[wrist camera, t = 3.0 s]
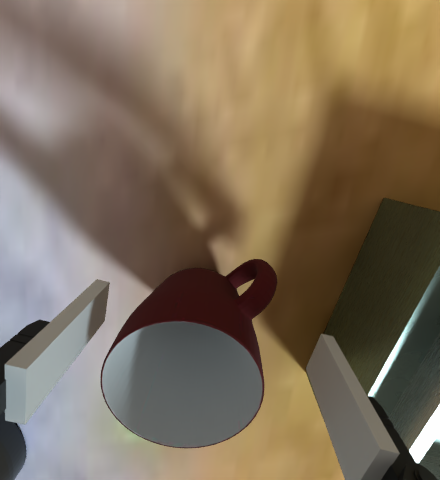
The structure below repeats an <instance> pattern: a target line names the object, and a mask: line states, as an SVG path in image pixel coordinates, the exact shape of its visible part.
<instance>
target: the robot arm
mask: <svg viewBox="0 0 440 480" xmlns="http://www.w3.org/2000/svg"><path fill="white" fill-rule="evenodd" d="M109 284H110V282H106V281H102V280H98V279H97V280H96V281H95V282H93V283H92V284H91V285H90V286H89V287H88V288H87V289H86V290H85V291H84V292H83V293H82V294H80V295H79V296H78V297H77V298H76V299H75V300H74V301H73V302H72V303H71V304H70V305H68V306H67V307H66V308H65V309H64V310H63V311H62V312H61V313H60V314H59V315H58V316H57V317H55V318H54V319H53V320H52V321H51V322H47V321H43V320H38V321H36V322H33V323H31V324H29V325H27V326H26V327H25V328H23V329H22V330H21V331H20V332H19V333H18V334H17V335H15V336H14V337H13V338H11V339H10V341H8V342H7V343H5V344H4V345H3V346H2V347H1V348H0V480H14V479H15V478H16V476H17V475H18V473H19V472H20V470H21V469H22V467H23V465H24V463H25V459H26V445H25V441H24V438H23V436H22V434H21V432H20V430H19V429H18V427H17V426H16V424H15V423H19V424H24V425H25V424H26V423H27V422H28V420H29V419H30V418H31V416H32V415H33V414H34V412H35V411H36V410H37V409H38V407H39V406H40V405H41V403H42V402H43V401H44V399H45V398H46V397H47V395H48V394H49V393H50V392H51V390H52V389H53V388H54V386H55V385H56V384H57V382H58V381H59V380H60V378H61V377H62V376H63V375H64V373H65V372H66V371H67V369H68V368H69V367H70V365H71V364H72V363H73V361H74V360H75V359H76V358H77V356H78V355H79V354H80V352H81V351H82V350H83V348H84V347H85V346H86V344H87V343H88V342H89V341H90V339H91V338H92V337H93V335H94V334H95V333H96V331H97V330H98V329H99V327H100V326H101V325H102V324H103V322H104V321H105V314H106V306H107V299H108V291H109ZM306 371H307V373H308V376H309V379H310V382H311V385H312V388H313V390H314V393H315V396H316V399H317V402H318V404H319V407H320V410H321V413H322V416H323V419H324V421H325V424H326V427H327V430H328V433H329V436H330V438H331V441H332V444H333V447H334V450H335V453H336V455H337V458H338V461H339V464H340V467H341V469H342V472H343V475H344V478H345V480H438V479H437V478H436V477H435V476H434V475H433V474H432V473H431V472H430V471H429V470H428V469H427V468H425V467H423V466H422V465H420V464H419V463H416V462H415V460H414V459H413V457H412V455H411V454H410V452H409V450H408V449H407V447H406V445H405V444H404V442H403V440H402V439H401V437H400V435H399V434H398V432H397V430H396V429H394V425H393V424H392V422H391V421H390V420H389V417H388V416H387V414H386V412H385V411H384V409H383V407H382V406H381V405H380V404H379V403H378V402H377V401H376V400H375V399H374V398H373V397H371V396H367V395H366V393H365V392H364V390H363V388H362V386H361V384H360V383H359V381H358V379H357V377H356V376H355V374H354V372H353V370H352V369H351V367H350V365H349V363H348V362H347V360H346V358H345V356H344V355H343V353H342V351H341V349H340V348H339V346H338V344H337V342H336V341H335V339H334V337H333V336H329V335H325V334H321V335H320V338H319V340H318V342H317V344H316V347H315V349H314V351H313V353H312V355H311V358H310V360H309V362H308V364H307V367H306ZM4 410H5V413H4V412H3V411H4ZM14 422H15V423H14Z"/></svg>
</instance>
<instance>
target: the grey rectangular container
mask: <svg viewBox="0 0 440 480" xmlns="http://www.w3.org/2000/svg"><path fill="white" fill-rule="evenodd" d="M324 334H325V335H329V336H333V337H334V339H335V341H336V342H337V344H338V346H339V348H340V349H341V351H342V353H343V355H344V356H345V358H346V360H347V362H348V363H349V365H350V367H351V369H352V370H353V372H354V374H355V376H356V377H357V379H358V381H359V383H360V384H361V386H362V388H363V390H364V392H365V393H366V395H367V396H371V397H373V398H374V399H375V400H376V401H377V402H378V403H379V404H380V405H381V406H382V407H383V409H384V411H385V412H386V414H387V416H388V417H389V420H390V421H391V422H392V424H393V425H394V429H396V430H397V432H398V434H399V435H400V437H401V439H402V440H403V442H404V444H405V445H406V447H407V449H408V450H409V452H410V454H411V455H412V457H413V459H414V460H415V462H416V463H419V464H420V465H422V466H423V467H425V468H427V469H428V470H429V471H430V472H431V473H432V474H433V475H434V476H435V477H436V478H437V479H438V480H440V212H438V211H434V210H430V209H427V208H423V207H419V206H415V205H411V204H407V203H403V202H399V201H395V200H391V199H387V198H384V199H383V201H382V203H381V205H380V208H379V210H378V212H377V214H376V217H375V219H374V221H373V223H372V226H371V228H370V230H369V232H368V235H367V237H366V239H365V241H364V244H363V246H362V248H361V250H360V253H359V255H358V257H357V259H356V262H355V264H354V266H353V269H352V271H351V273H350V275H349V278H348V280H347V282H346V284H345V287H344V289H343V291H342V293H341V296H340V298H339V300H338V302H337V305H336V307H335V309H334V311H333V314H332V316H331V318H330V320H329V323H328V325H327V327H326V329H325V332H324ZM306 374H307V376H308V373H307V372H306ZM308 379H309V376H308ZM309 382H310V379H309ZM310 384H311V382H310ZM311 387H312V385H311ZM312 390H313V388H312ZM313 392H314V390H313ZM314 395H315V393H314ZM315 398H316V396H315ZM316 400H317V399H316ZM317 403H318V402H317ZM318 406H319V404H318ZM319 408H320V407H319ZM320 411H321V410H320ZM321 414H322V413H321ZM324 422H325V421H324Z"/></svg>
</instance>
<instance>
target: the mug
mask: <svg viewBox="0 0 440 480" xmlns="http://www.w3.org/2000/svg"><path fill="white" fill-rule="evenodd" d="M253 279H255V280H254V281H253V283H252V284H251V286H250V287H249V288H248V289H247V290H246V291H245V292H244V293H243V294H242V295H241V296H239V295H238V292H237V288H238V287H239V286H241V285H242V284H244V283H246V282H248V281H250V280H253ZM276 286H277V277H276V274H275V271H274V270H273V268H272V267H271V266H270V265H269V264H268V263H267V262H265V261H263V260H261V259H253V260H249V261H247V262H245V263H243V264H242V265H240V266H239V267H237V268H236V269H235V270H233V271H232V272H231V273H230V274H228V275H227V276H223V275H221V274H219V273H216V272H214V271H211V270H208V269H203V268H191V269H186V270H182V271H179V272H177V273H175V274H173V275H171V276H170V277H169V278H167V279H166V280H165V281H164V282H163V283H162V284H160V285H159V286H158V287H157V288H156V289H155V290H154V291H153V292H152V293H151V294H150V295H149V296H148V297H147V298H146V299H145V300H144V301H143V302H142V303H141V304H140V305H139V306H138V307H137V308H136V310H135V311H134V312H133V313H132V314H131V315H130V317H129V318H128V320H127V321H126V323H125V324H124V325H123V327H122V329H121V330H120V332H119V334H118V335H117V337H116V339H115V341H114V343H113V345H112V346H111V348H110V350H109V352H108V354H107V356H106V358H105V360H104V363H103V366H102V370H101V389H102V393H103V397H104V399H105V402H106V404H107V406H108V408H109V409H110V411H111V412H112V414H113V415H114V416H115V417H116V419H117V420H118V421H119V422H120V423H121V424H122V425H124V426H125V427H126V428H127V429H129V430H130V431H131V432H133V433H134V434H136V435H138V436H140V437H142V438H144V439H146V440H148V441H151V442H153V443H157V444H160V445H164V446H169V447H176V448H199V447H206V446H210V445H214V444H218V443H220V442H223V441H225V440H228V439H230V438H231V437H233V436H235V435H236V434H238V433H239V432H241V431H242V430H243V429H245V428H246V427H247V426H248V425H249V424H250V423H251V421H252V420H253V419H254V418H255V416H256V414H257V413H258V411H259V409H260V407H261V404H262V401H263V396H264V377H263V370H262V363H261V357H260V351H259V346H258V342H257V338H256V334H255V331H254V328H253V324H252V319H253V318H254V317H255V316H257V315H258V314H259V313H261V312H262V311H263V310H264V309H265V308H266V307H267V305H268V304H269V303H270V301H271V300H272V298H273V296H274V293H275V290H276Z"/></svg>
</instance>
